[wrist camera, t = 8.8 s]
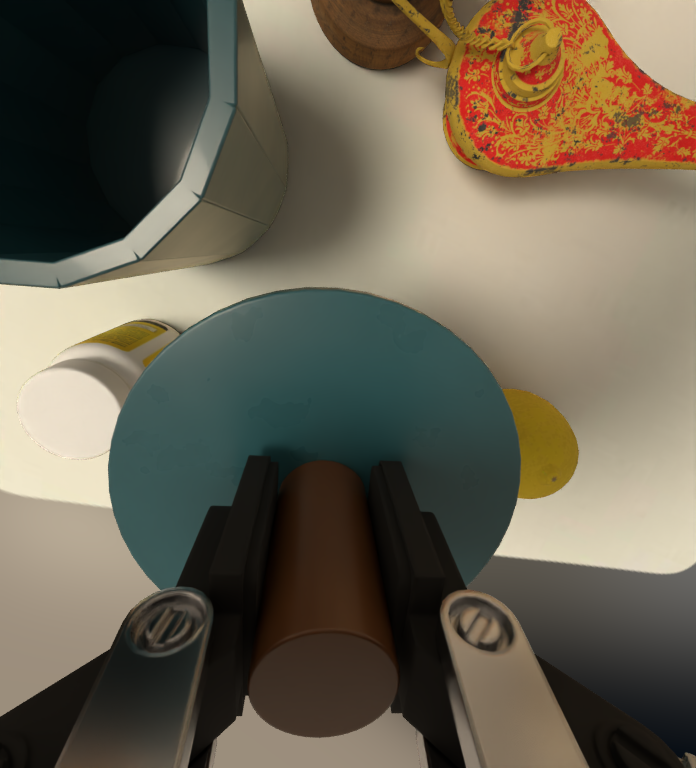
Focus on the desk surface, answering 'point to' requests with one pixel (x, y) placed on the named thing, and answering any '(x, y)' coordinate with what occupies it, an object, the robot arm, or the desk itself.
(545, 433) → the lemon
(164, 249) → the pot
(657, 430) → the desk surface
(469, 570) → the lid
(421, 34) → the mortar and pestle
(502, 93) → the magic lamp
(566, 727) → the robot arm
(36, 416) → the supplement bottle
